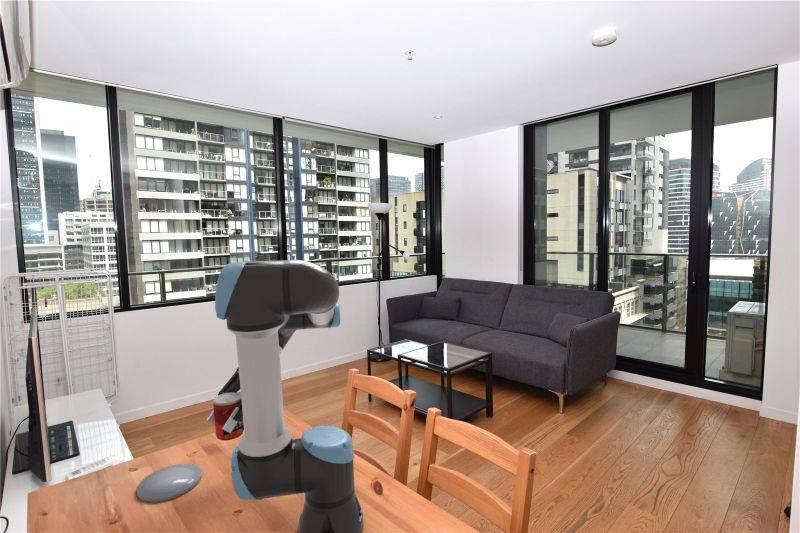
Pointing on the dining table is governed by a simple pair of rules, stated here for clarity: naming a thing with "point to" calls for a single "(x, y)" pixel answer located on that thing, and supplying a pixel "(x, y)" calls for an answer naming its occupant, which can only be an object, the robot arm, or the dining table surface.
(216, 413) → the canned food
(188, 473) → the slate plate
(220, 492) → the dining table surface
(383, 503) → the dining table surface
